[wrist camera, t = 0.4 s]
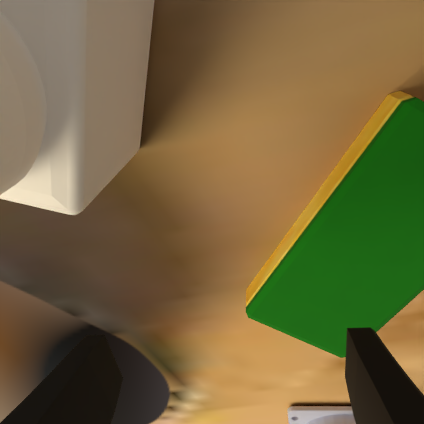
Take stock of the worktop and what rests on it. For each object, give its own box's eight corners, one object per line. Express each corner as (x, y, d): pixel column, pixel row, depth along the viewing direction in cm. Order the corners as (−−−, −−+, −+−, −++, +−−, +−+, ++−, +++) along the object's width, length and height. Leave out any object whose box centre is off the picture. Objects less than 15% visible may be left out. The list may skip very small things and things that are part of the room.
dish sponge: (513, 155, 16) (554, 175, 14) (337, 330, 22) (346, 361, 20) (389, 85, 15) (412, 94, 13) (243, 288, 22) (242, 316, 19)
